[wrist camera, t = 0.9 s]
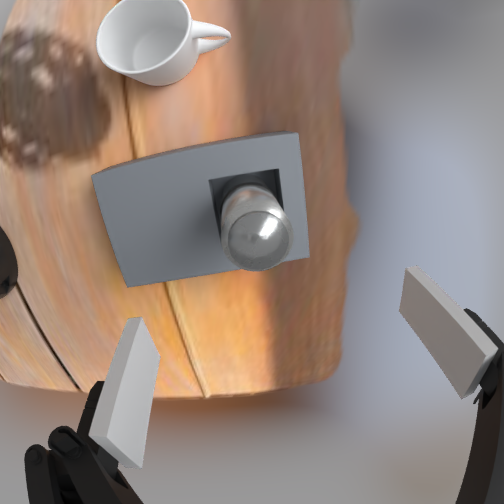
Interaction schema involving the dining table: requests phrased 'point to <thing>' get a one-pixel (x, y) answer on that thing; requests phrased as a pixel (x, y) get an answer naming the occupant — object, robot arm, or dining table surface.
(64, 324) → the dining table surface
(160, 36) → the mug
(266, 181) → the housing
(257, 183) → the silver can
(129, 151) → the dining table surface
